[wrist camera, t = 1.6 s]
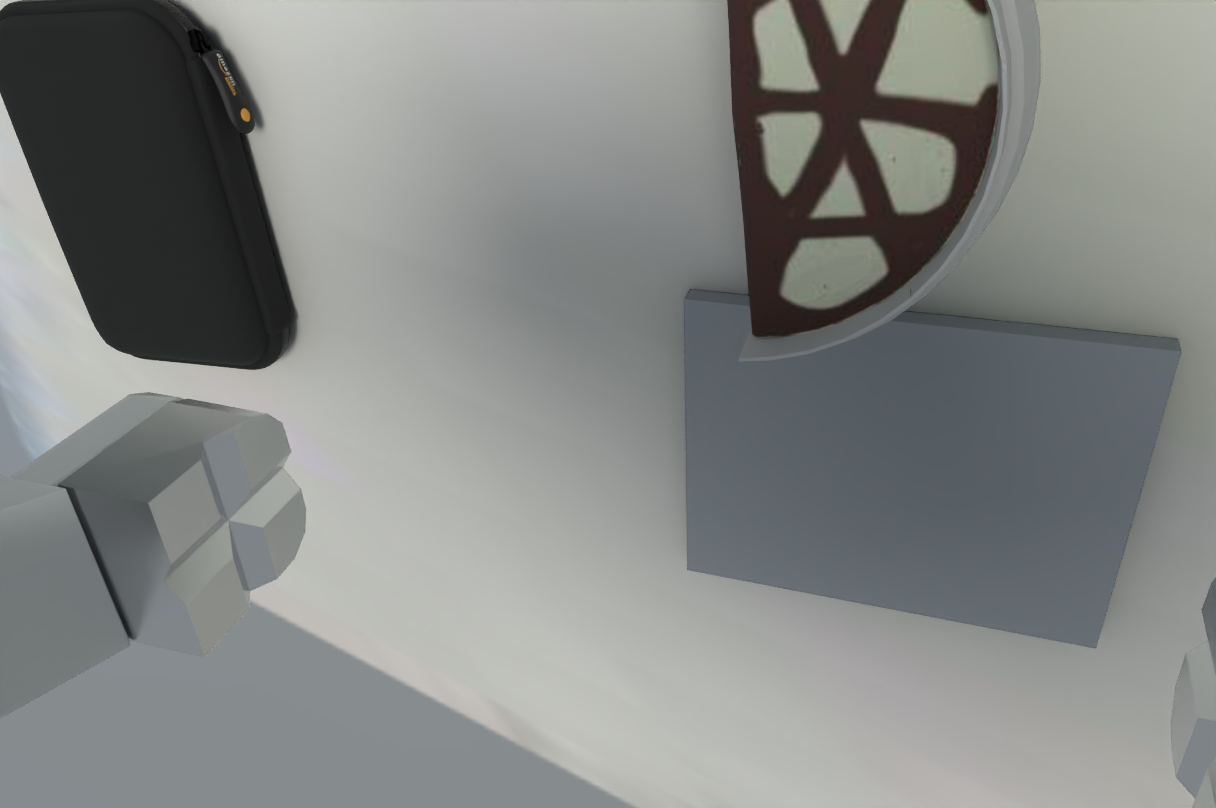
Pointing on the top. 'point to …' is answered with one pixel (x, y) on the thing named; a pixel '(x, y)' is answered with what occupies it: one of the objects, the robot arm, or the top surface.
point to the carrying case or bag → (146, 177)
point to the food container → (870, 152)
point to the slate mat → (924, 464)
